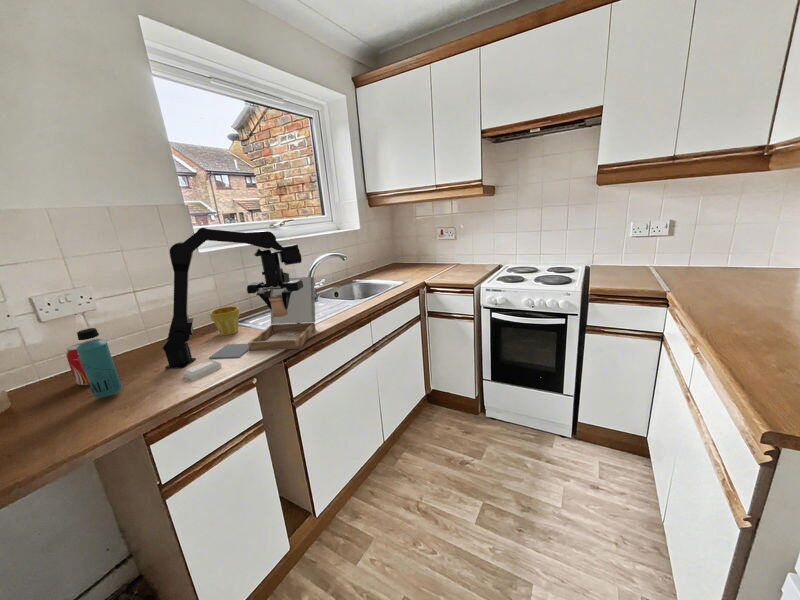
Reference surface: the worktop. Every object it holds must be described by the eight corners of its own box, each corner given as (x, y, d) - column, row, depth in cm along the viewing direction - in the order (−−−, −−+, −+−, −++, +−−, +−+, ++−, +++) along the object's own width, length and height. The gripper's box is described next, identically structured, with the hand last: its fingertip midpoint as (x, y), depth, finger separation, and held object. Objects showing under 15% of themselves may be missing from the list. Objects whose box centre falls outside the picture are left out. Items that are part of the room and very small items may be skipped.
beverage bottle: (121, 387, 99) (99, 323, 93) (127, 394, 95) (104, 327, 89) (92, 398, 94) (67, 331, 88) (97, 405, 90) (71, 336, 84)
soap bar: (184, 378, 103) (182, 370, 102) (213, 365, 110) (211, 358, 109) (192, 381, 100) (190, 373, 99) (221, 368, 107) (219, 360, 106)
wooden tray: (298, 348, 116) (297, 340, 116) (249, 350, 118) (247, 342, 117) (315, 329, 134) (314, 322, 133) (272, 331, 135) (271, 324, 135)
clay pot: (284, 317, 120) (281, 298, 118) (269, 317, 121) (265, 299, 119) (291, 311, 126) (288, 293, 124) (276, 312, 126) (272, 294, 124)
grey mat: (239, 357, 113) (239, 356, 113) (209, 358, 114) (208, 357, 114) (255, 344, 124) (255, 343, 123) (227, 345, 125) (227, 344, 125)
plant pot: (232, 337, 132) (226, 313, 130) (209, 337, 135) (203, 314, 132) (248, 327, 142) (243, 305, 139) (227, 327, 144) (221, 306, 142)
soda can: (84, 378, 106) (71, 343, 103) (111, 373, 109) (99, 339, 105) (72, 389, 100) (58, 352, 97) (101, 383, 102) (88, 347, 99)
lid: (313, 276, 134) (314, 277, 135) (270, 279, 136) (271, 279, 136) (314, 322, 133) (315, 322, 133) (271, 324, 135) (271, 324, 135)
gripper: (305, 261, 125) (311, 301, 129) (257, 264, 127) (265, 304, 131) (293, 267, 114) (301, 310, 119) (241, 270, 116) (250, 313, 121)
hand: (279, 309), depth 123 cm, fingers closed on clay pot, 5 cm apart
